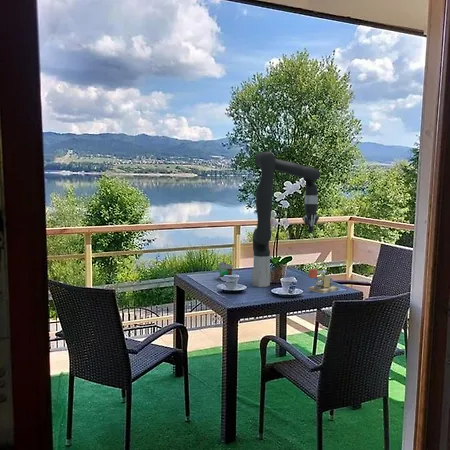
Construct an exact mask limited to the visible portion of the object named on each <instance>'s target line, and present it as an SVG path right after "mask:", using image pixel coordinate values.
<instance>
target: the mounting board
mask: <svg viewBox="0 0 450 450" xmlns="http://www.w3.org/2000/svg"><path fill="white" fill-rule="evenodd" d="M314 286H315V285H313V286H310V287H308V291H311V292H315V293H319V294H327V293H331V292H335V290H336V291H339V287H338V286H335V285H333V286H331V287H325V288H322V287H321V289H315V288H314Z"/></svg>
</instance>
